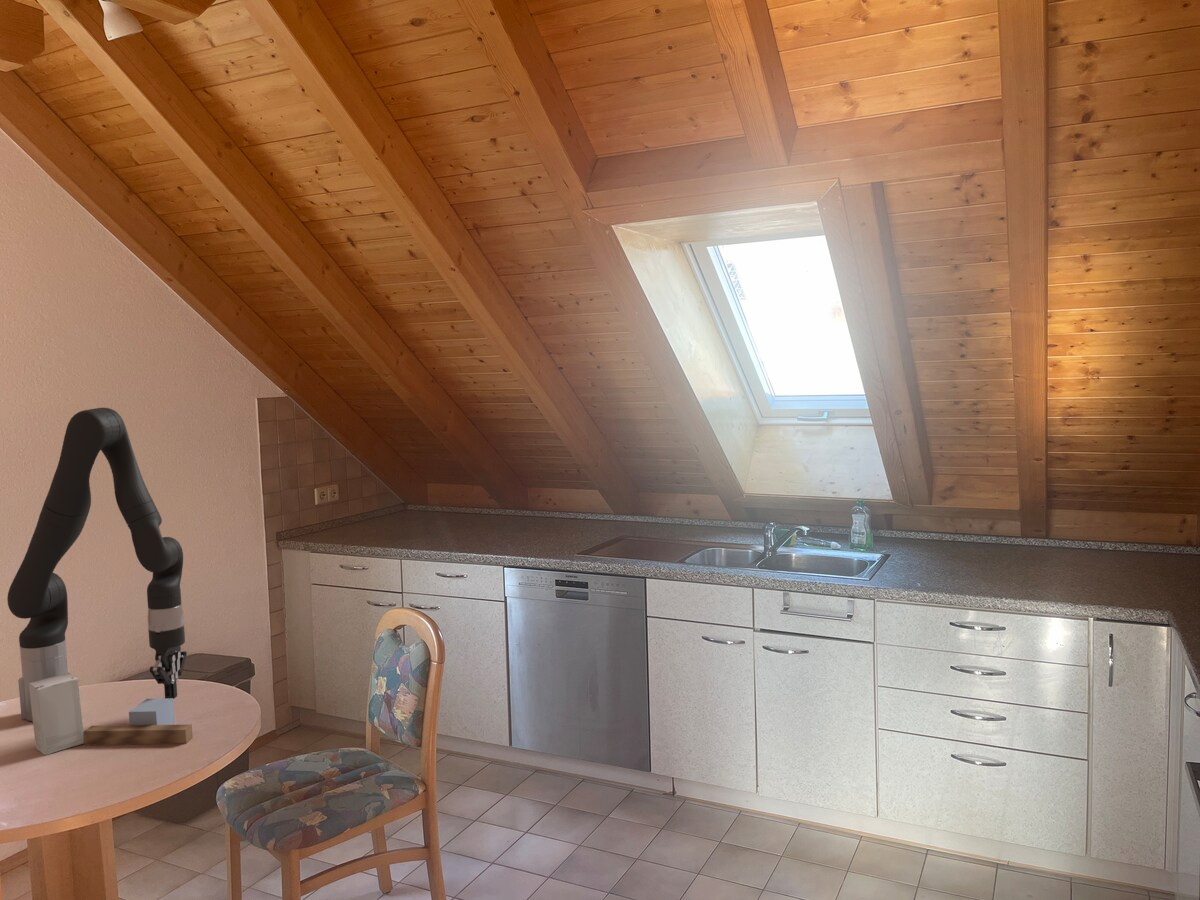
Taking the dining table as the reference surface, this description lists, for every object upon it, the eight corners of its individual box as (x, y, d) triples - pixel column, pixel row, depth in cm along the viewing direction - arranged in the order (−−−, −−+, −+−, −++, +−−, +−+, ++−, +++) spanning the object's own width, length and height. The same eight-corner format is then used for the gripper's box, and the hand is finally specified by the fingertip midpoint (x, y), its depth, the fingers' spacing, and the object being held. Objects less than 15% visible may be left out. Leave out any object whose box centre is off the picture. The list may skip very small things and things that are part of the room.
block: (130, 738, 210) (128, 711, 209) (148, 724, 218) (146, 698, 217) (157, 738, 210) (155, 711, 209) (175, 724, 218) (173, 698, 217)
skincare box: (75, 737, 211) (70, 671, 209) (85, 744, 207) (80, 677, 205) (33, 749, 205) (27, 681, 203) (42, 756, 201) (37, 687, 199)
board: (85, 744, 206) (84, 731, 206) (93, 739, 209) (91, 725, 209) (186, 743, 206) (185, 729, 205) (192, 737, 209) (191, 724, 208)
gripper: (164, 617, 228) (169, 688, 229) (134, 633, 214) (140, 708, 216) (195, 617, 227) (200, 688, 229) (167, 633, 214) (172, 708, 216)
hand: (171, 698), depth 222 cm, fingers closed
